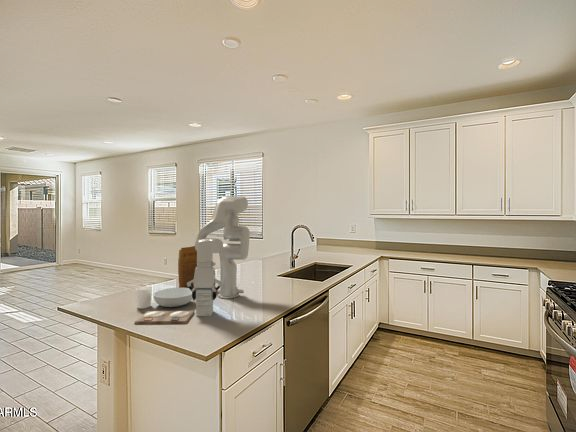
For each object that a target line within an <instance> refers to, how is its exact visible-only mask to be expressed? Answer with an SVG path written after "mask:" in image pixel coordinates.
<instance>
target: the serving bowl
mask: <svg viewBox="0 0 576 432" xmlns="http://www.w3.org/2000/svg"><path fill="white" fill-rule="evenodd" d="M152 296H153V299H154V302H155V303H156V304H157V305H159V306H162V307H165V308H177V307H181V306H184V305H186V304H188V303H190V302H191V301H192V300H193V298H192V292H191V290H190V289H189V288H179V287H170V288H169V287H168V288H164V289H159V290H157V291H155V292H153V293H152Z"/></svg>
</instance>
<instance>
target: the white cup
mask: <svg viewBox="0 0 576 432" xmlns="http://www.w3.org/2000/svg"><path fill="white" fill-rule="evenodd" d="M152 292H153V286H151V285H144V286H139V287H136V288H135V302H136V308H137V309H147V308H150V307H151V305H152V296H153V293H152Z"/></svg>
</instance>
